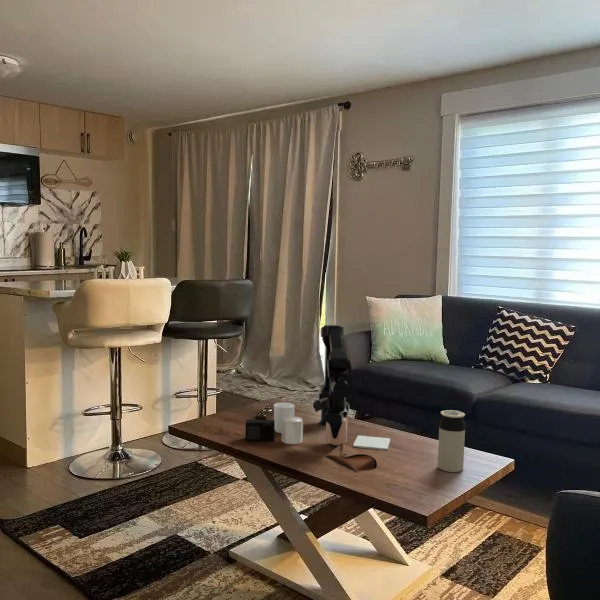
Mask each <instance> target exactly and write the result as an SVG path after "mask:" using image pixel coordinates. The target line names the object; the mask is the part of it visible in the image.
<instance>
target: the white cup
mask: <svg viewBox="0 0 600 600" xmlns="http://www.w3.org/2000/svg"><path fill="white" fill-rule="evenodd" d="M295 406H296V405H295V404H294V403H291V402H276V403H274V404H273V420H274V421H275V433H278V434H282V421H283V418H285V417H295V409H296V408H295Z"/></svg>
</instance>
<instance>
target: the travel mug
mask: <svg viewBox="0 0 600 600" xmlns="http://www.w3.org/2000/svg"><path fill="white" fill-rule="evenodd" d="M440 415H441V419H440V421H439V426H438V444H437V445H438V447H437V449H438V451H437V468H438V469H440V470H442V471H444V472H447V473H460V472H461V471H463V470H464V463H465V462H464V461H465V437H466V436H465V435H466V423H465V420H464V417H465V416H466V413H464V412H462V411H460V410H453V409H449V410H448V409H447V410H442V411H440Z"/></svg>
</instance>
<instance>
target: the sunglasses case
mask: <svg viewBox="0 0 600 600" xmlns="http://www.w3.org/2000/svg"><path fill="white" fill-rule="evenodd" d="M325 458H329V459H331V460H332V461H333V460H334V461H335V462H337V463H340V464H342V465H344V466H346V467H347V468H350V469H351V470H352V471H354V472H361V471H366V470H370V469H376V468H377V467H378V462H377V460H376V458H374V457H373V456H371V455H369V454H365V453H364V452H361V451H360V450H358V449H355V448H354V447H350V446H348V445H345V443H344V444H343V443H341V444H339V445H337V446H336V447H335V448H334V449H332V450H331V451H330V452H329V453H328V454H326V455H325Z"/></svg>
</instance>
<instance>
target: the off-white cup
mask: <svg viewBox="0 0 600 600" xmlns="http://www.w3.org/2000/svg"><path fill="white" fill-rule="evenodd" d="M303 435H304V420H303V418H302V417H299V416H294V417H285V418H283V421H282V433H281V442H283V444H286V445H287V444H288V445H298V444H301V443H302V442H303V441H304V439H303V438H304V437H303Z"/></svg>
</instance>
